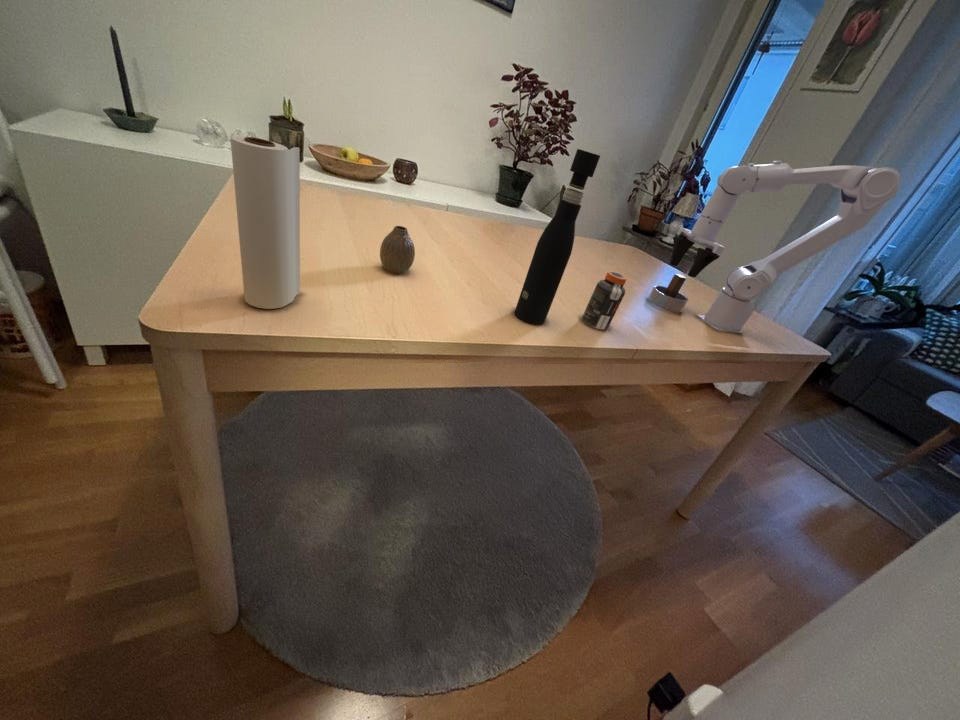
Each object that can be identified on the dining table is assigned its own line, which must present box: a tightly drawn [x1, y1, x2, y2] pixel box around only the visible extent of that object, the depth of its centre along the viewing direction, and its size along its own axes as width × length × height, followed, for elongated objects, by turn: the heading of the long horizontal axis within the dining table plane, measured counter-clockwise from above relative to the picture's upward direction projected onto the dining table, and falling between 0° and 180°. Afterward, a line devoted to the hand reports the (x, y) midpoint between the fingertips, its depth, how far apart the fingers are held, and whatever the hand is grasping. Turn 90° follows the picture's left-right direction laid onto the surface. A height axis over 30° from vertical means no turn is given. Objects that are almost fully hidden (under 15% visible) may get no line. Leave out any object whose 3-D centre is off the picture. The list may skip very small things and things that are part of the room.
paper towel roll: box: [229, 135, 301, 310], centre depth 51 cm, size 7×6×21 cm
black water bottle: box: [514, 148, 601, 326], centre depth 68 cm, size 6×6×30 cm
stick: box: [664, 273, 687, 298], centre depth 103 cm, size 2×2×8 cm
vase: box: [379, 225, 416, 275], centre depth 76 cm, size 7×7×9 cm
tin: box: [647, 285, 689, 314], centre depth 105 cm, size 9×9×4 cm
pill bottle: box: [581, 270, 628, 330], centre depth 79 cm, size 6×6×11 cm
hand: (681, 270), depth 100 cm, fingers open, 7 cm apart
